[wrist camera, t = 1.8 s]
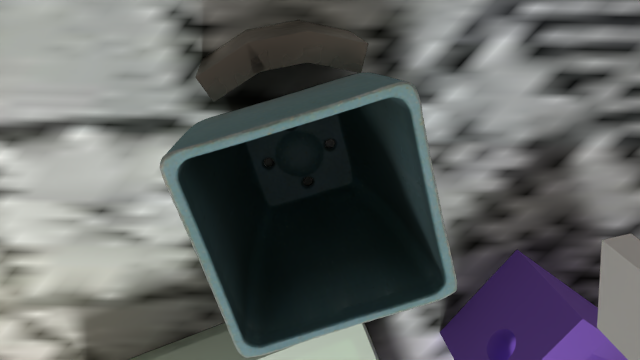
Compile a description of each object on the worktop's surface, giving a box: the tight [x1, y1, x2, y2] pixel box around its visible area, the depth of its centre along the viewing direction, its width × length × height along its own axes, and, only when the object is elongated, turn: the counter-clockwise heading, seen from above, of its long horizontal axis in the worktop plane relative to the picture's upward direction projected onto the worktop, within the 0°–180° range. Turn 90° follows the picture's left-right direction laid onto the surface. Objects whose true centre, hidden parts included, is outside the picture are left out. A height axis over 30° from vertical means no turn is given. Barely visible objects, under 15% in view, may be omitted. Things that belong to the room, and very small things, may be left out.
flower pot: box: [160, 73, 457, 358], centre depth 23 cm, size 9×9×9 cm
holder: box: [196, 20, 368, 102], centre depth 25 cm, size 12×7×4 cm, turn 9°
